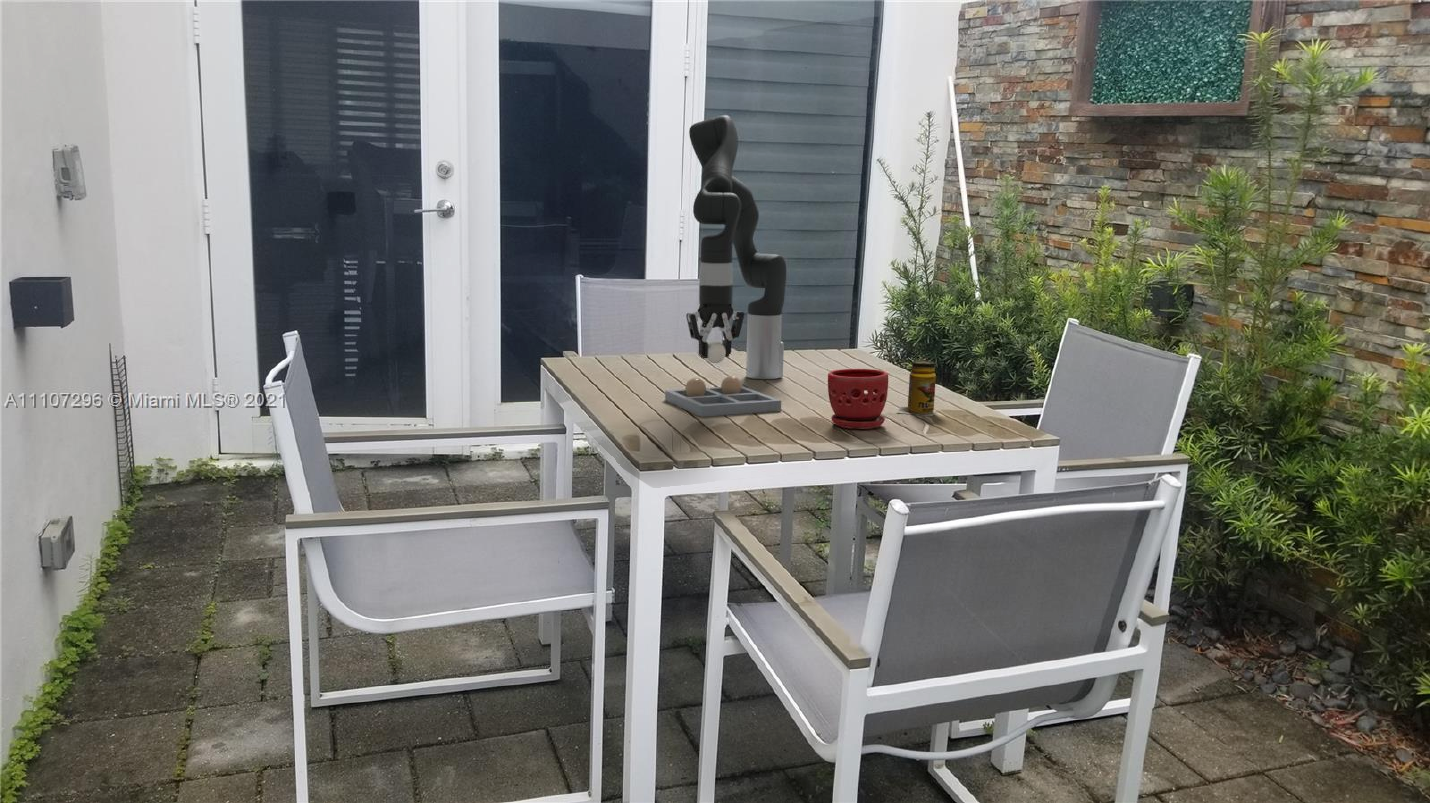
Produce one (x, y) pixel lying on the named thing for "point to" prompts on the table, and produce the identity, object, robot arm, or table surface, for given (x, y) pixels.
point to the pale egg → (716, 352)
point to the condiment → (921, 389)
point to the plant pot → (858, 397)
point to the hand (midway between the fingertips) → (714, 356)
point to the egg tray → (723, 402)
